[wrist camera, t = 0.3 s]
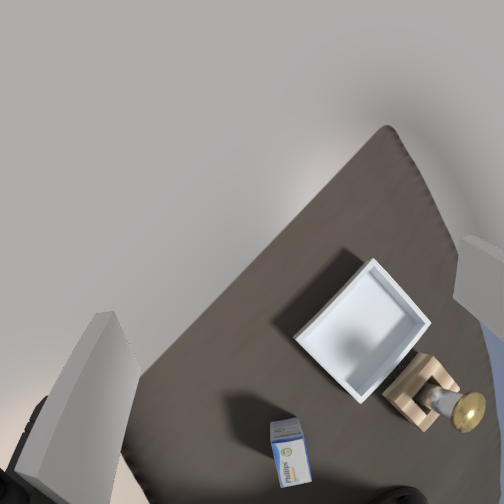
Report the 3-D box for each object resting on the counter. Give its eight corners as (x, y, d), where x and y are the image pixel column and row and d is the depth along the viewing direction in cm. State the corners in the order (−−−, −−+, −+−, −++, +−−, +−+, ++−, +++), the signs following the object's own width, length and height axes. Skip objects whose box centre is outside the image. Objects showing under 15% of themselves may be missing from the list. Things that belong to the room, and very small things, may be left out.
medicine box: (305, 456, 39) (313, 482, 30) (277, 462, 39) (280, 489, 30) (297, 415, 40) (304, 436, 32) (268, 421, 40) (270, 444, 32)
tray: (419, 322, 42) (431, 323, 38) (353, 397, 40) (360, 403, 37) (364, 262, 45) (373, 257, 41) (292, 337, 43) (295, 339, 39)
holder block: (444, 383, 40) (460, 388, 35) (410, 423, 39) (424, 432, 34) (418, 352, 41) (433, 355, 36) (381, 394, 40) (394, 401, 35)
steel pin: (432, 385, 40) (490, 406, 24) (412, 409, 39) (465, 439, 23) (417, 368, 41) (475, 385, 25) (396, 392, 40) (449, 419, 24)
